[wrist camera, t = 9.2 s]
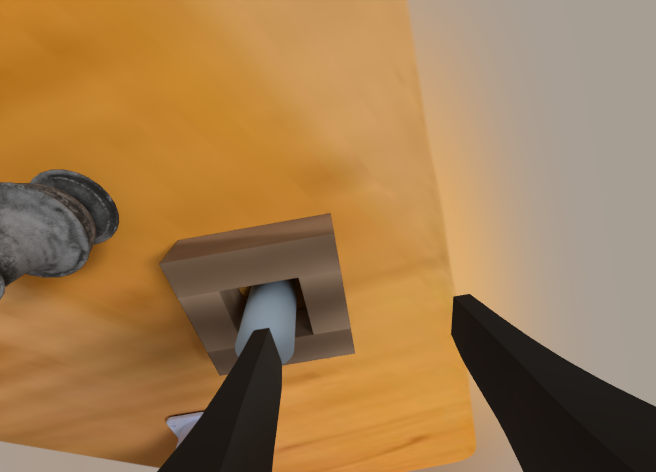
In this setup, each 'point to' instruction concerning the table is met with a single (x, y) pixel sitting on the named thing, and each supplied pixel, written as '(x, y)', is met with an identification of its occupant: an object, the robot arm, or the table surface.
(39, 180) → the dark grey chess piece
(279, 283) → the peg
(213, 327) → the socket block
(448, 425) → the table surface
